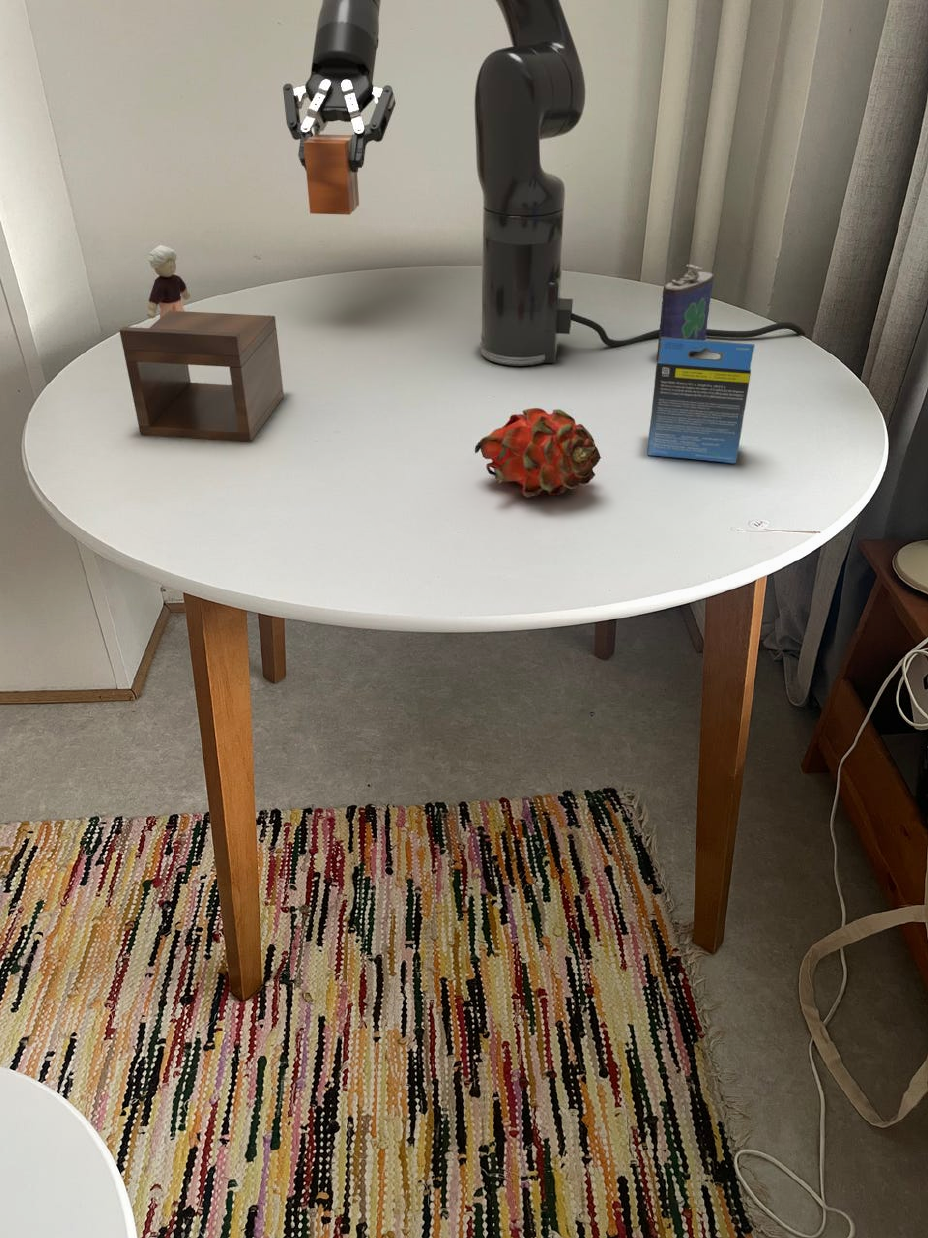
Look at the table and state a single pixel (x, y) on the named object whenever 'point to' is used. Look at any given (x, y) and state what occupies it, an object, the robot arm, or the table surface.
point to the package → (330, 175)
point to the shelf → (204, 407)
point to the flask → (686, 306)
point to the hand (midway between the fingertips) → (330, 167)
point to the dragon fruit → (541, 452)
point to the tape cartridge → (699, 400)
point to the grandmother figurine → (165, 283)
